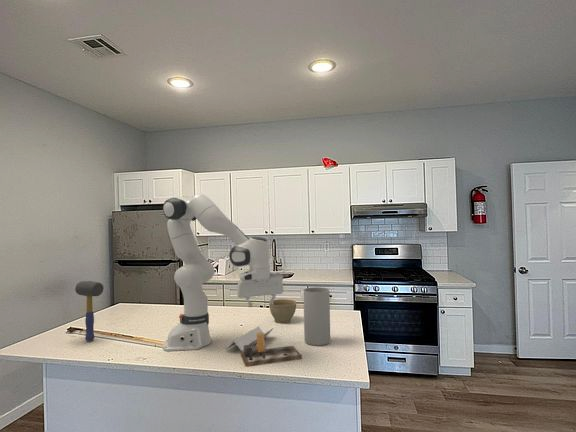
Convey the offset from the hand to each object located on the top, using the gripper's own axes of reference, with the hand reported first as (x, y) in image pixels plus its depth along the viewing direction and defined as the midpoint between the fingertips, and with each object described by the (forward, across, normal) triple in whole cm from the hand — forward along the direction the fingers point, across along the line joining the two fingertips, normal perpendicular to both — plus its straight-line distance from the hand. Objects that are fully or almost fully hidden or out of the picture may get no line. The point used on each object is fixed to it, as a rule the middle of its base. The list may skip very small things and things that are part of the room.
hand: (260, 305), depth 150 cm
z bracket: (+21, +2, -16) cm, 27 cm away
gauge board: (+22, -3, +2) cm, 22 cm away
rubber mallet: (+21, +77, -49) cm, 94 cm away
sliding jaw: (+20, +1, +3) cm, 20 cm away
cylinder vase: (+22, -29, -8) cm, 38 cm away
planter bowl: (+22, -24, -47) cm, 57 cm away
